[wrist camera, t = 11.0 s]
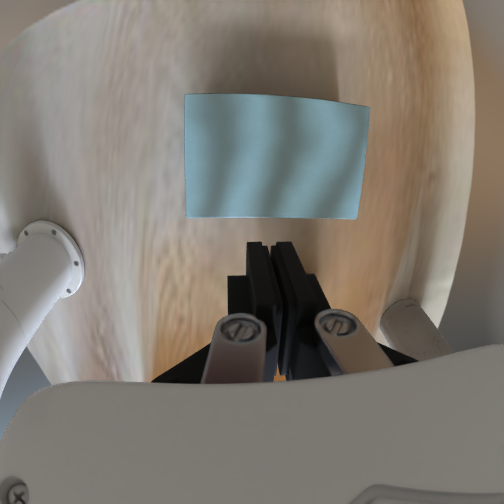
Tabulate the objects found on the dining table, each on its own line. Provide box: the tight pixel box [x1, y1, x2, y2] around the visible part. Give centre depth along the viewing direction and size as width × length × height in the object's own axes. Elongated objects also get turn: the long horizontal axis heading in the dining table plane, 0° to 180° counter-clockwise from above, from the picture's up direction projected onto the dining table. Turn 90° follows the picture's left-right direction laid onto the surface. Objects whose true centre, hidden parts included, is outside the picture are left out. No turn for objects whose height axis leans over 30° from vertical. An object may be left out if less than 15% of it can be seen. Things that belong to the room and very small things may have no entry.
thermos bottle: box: [380, 299, 454, 361], centre depth 35 cm, size 8×8×28 cm
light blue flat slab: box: [184, 93, 370, 219], centre depth 26 cm, size 16×11×1 cm
